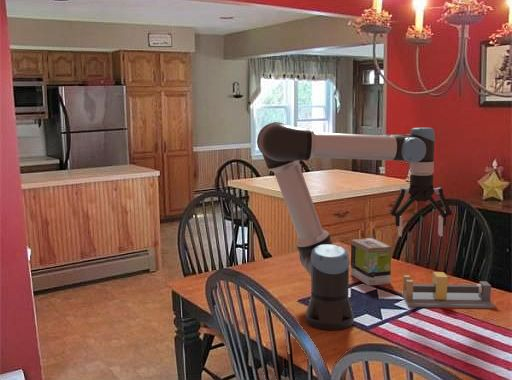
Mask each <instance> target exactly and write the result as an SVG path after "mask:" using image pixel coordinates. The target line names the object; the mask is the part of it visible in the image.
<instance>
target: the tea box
mask: <svg viewBox="0 0 512 380" xmlns="http://www.w3.org/2000/svg"><path fill="white" fill-rule="evenodd" d="M350 243H351V244H350V275H351V276H353V277H355V278H356V279H358V280H359V281H361V282H362V283H364V284H365V285H367V286H378V285H387V284H388V285H389V284H390V283H391V273H392V246H391V245H389V244H387V243H385V242H382V241H380V240H378V239H376V238H373V237H368V238H367V237H366V238H356V239H351V241H350Z"/></svg>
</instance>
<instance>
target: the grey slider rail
mask: <svg viewBox="0 0 512 380" xmlns="http://www.w3.org/2000/svg"><path fill="white" fill-rule="evenodd" d="M402 282H403V283H402V285H403V286H402V291H401V296H402V298H403V300H404V302H405V304H406V306H407V307H408V308H453V309H454V308H456V309H458V308H461V309H495V305H494V303H493V302H491V294H492V293H491V292H492V285H491V284H490V283H489V282H488V281H487V280H486V281H483V280H480V281H478V282H479V283H476V284H448V283H447V300H439V299H435V297H434V296H433V295H432V293H435V288H436V286H435V284H433V283H429V284H428V283H414V280H413V279H411V275H408V274H407V275H403V280H402Z"/></svg>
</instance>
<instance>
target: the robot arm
mask: <svg viewBox="0 0 512 380" xmlns="http://www.w3.org/2000/svg"><path fill="white" fill-rule="evenodd" d="M435 138H436V136H435V129H434V128H433V127H412V128H411V130H410V133H407V134H358V133H335V132H334V133H333V132H314V130H312V129H311V128H302V127H296V126H293V125H289V124H286V123H282V122H278V121H275V122H270V123H268V124H266V125H264V126H263V127H262V128H261V129H260V130H259V133H258V135H257V140H256V145H257V148H258V150H259V152H260V153H261V154H262V157H263V160H264V162H265V165H266V168H267V170H269V171H270V172H273V173H274V176H275V179H276V181H277V183H278V187H279V189H280V193H281V195H282V198H283V200H284V203H285V206H286V208H287V211H288V213H289V217H290V219H291V221H292V224H293V228H294V231H295V232H296V235H297V240H296V242H295V246H296V248H297V251H298V253H299V261H300V263H301V265H302V267H303V268H304V269H305V270H306V272H307V273H308V274H309V276H310V300H309V302H308V305H307V308H306V310H305V311H306V312H305V322H306V324H307V325H309V326H310V327H312V328H315V329H319V330H326V331H339V330H344V329H348V328H350V327H352V325H354V322H355V320H354V319H355V317H354V315H355V314H354V311H353V309H352V305H351V302H350V300H349V278H350V276H349V272H350V271H349V270H350V267H349V266H350V258H349V253H348V250H347V249H345V248H344V247H342V246H338V245H336V244H333V242H332V241H333V240H332V237H331V236H330V232H329V231H327V230H325V229H323V227H322V225H321V221H320V219H319V218H320V217H319V216H318V213H317V210H316V207H315V204H314V202H313V200H312V196H311V193H310V191H309V189H308V186H307V182H306V181H305V177H304V174H303V172H302V168H301V166H300V162H301V161H304V162H305V161H307V162H308V161H311V160H312V158H319V159H322V158H323V159H340V160H341V159H342V160H345V159H346V160H367V161H368V160H373V161H394V162H407V163H409V164H410V165H409V166H410V167H409V169H410V170H409V172H410V175H409V188H404V187H400V189H399V195H398V196H397V198H396V200H395V202H394V203H393V205H392V207H391V209H390V211H389V214H390V215H391V216H393V217H395V218H394V223H395V224H394V225H395V227H397V235H398V236H399V237H402V236H403V217H402V215H403V214H404V213H405V211H407V209H408V208H409V207H410V206H411V205H413V203H414V202H416V203H417V202H423V203H424V202H426V203H427V202H428V201H429V203H431V205H432V206H433V207H434V208H435V210H437V212H438V213H439V214H440V215H438V224H437V225H438V227H437V229H438V231H437V234H438V236H439V237H443V235H444V234H443V232H444V227H446V225H447V217H448V216H452V215H453V212H452V210H451V208H450V206H449V204H448V201H447V199H446V198H445V195H444V189H443V188H442V187H439V186H438V187H435V188H434V175H433V174H434V171H435V169H434V168H435V166H434V165H435V164H434V162H435V159H434V157H435V143H436V139H435ZM434 193H435V194H436V195H438V198H439V200H440V203H441V204H442V206H443V208H444V210H445V211H444V210H443V208H442V207H441V206H440V205H439V204H438V202H436V200H435V199H434V198H433V197H432V196H433V195H434ZM407 194H409V195H410V196H409V197H408V198H407V200H406V201H405V202H404V203H403V204H402V205H401V203H402V202H403V200H404V198H405V196H407ZM400 205H401V207H400ZM399 207H400V208H399Z"/></svg>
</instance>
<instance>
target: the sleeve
mask: <svg viewBox="0 0 512 380" xmlns="http://www.w3.org/2000/svg"><path fill="white" fill-rule="evenodd" d="M448 278H449V277H448V276H447V274H446V273H445V272H443V271H433V272H432V284H435V286H436V288H435V293H432V295H433V296H434V297H435V299H439V300H447V284H448V280H449V279H448Z"/></svg>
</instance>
